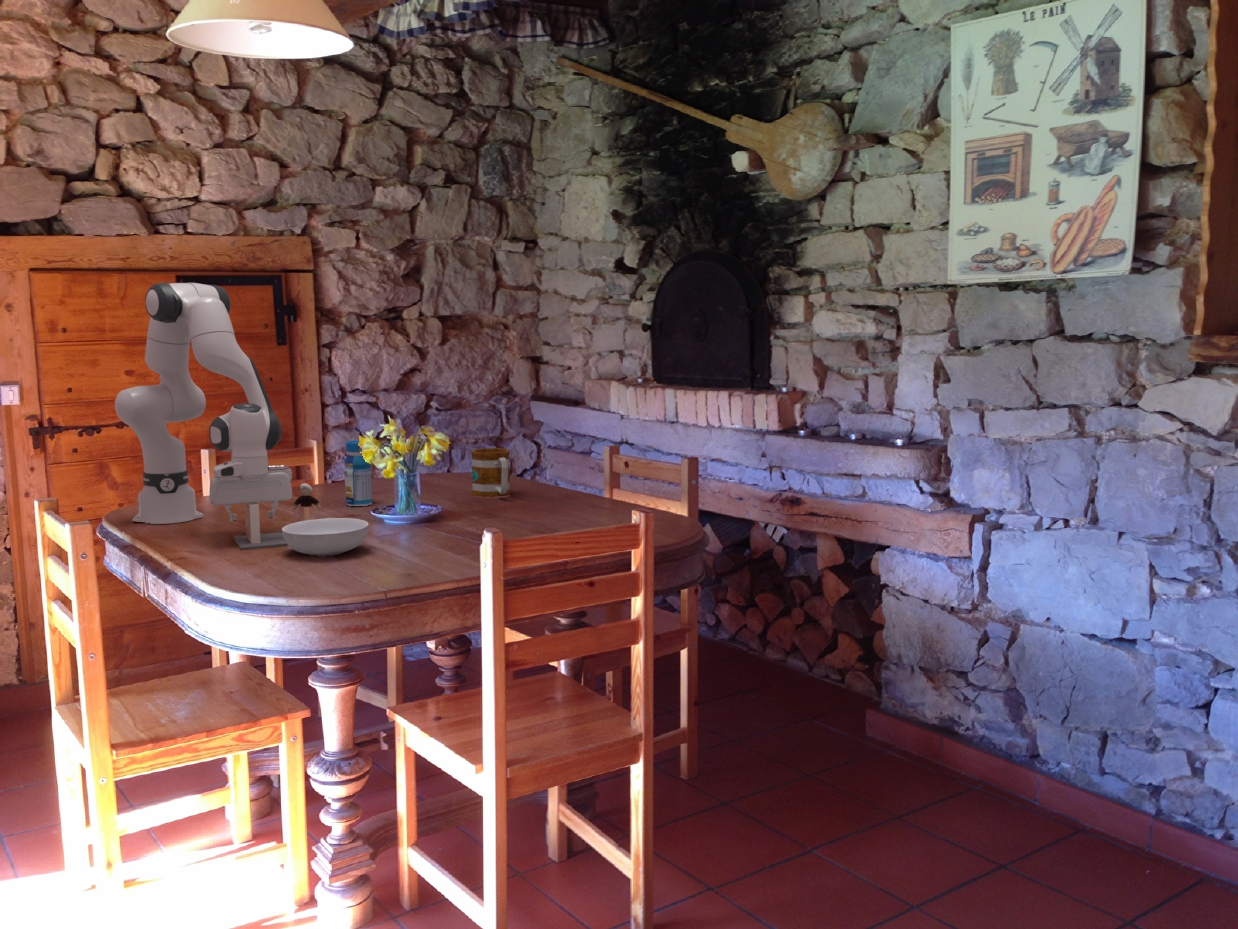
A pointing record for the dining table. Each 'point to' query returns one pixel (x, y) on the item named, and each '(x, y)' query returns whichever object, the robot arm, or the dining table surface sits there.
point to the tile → (252, 522)
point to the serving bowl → (325, 535)
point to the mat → (262, 541)
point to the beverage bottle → (357, 477)
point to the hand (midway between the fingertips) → (252, 519)
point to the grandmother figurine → (306, 503)
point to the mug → (490, 472)
